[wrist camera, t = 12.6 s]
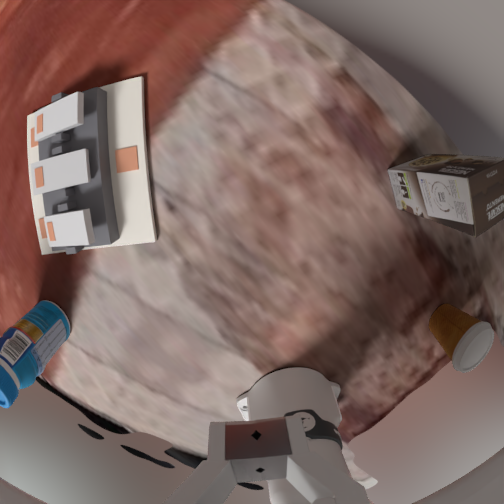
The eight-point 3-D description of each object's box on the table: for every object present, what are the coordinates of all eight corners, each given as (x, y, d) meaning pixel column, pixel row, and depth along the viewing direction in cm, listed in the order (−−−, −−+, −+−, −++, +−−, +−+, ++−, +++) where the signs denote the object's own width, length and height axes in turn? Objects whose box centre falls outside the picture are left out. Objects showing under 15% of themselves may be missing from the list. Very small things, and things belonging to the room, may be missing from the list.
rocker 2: (91, 181, 28) (88, 182, 27) (37, 194, 27) (33, 195, 25) (88, 149, 27) (85, 148, 26) (34, 163, 25) (30, 163, 24)
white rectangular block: (95, 241, 29) (88, 245, 28) (55, 244, 30) (48, 247, 29) (89, 208, 28) (82, 210, 26) (49, 215, 29) (43, 217, 28)
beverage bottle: (80, 336, 40) (24, 416, 20) (51, 342, 40) (-3, 411, 21) (57, 293, 37) (-15, 362, 18) (29, 303, 37) (-37, 364, 18)
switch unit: (157, 239, 36) (143, 254, 30) (45, 252, 35) (22, 265, 29) (143, 78, 29) (127, 63, 23) (31, 116, 28) (6, 113, 22)
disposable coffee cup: (456, 326, 44) (490, 356, 33) (421, 346, 44) (453, 383, 33) (458, 287, 41) (499, 316, 30) (421, 308, 42) (460, 344, 30)
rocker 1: (83, 123, 25) (77, 123, 24) (40, 141, 26) (34, 141, 25) (83, 93, 24) (77, 91, 23) (40, 112, 25) (34, 112, 23)
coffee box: (397, 211, 36) (474, 240, 21) (386, 168, 34) (466, 176, 19) (439, 192, 36) (516, 211, 20) (430, 152, 34) (510, 157, 18)
